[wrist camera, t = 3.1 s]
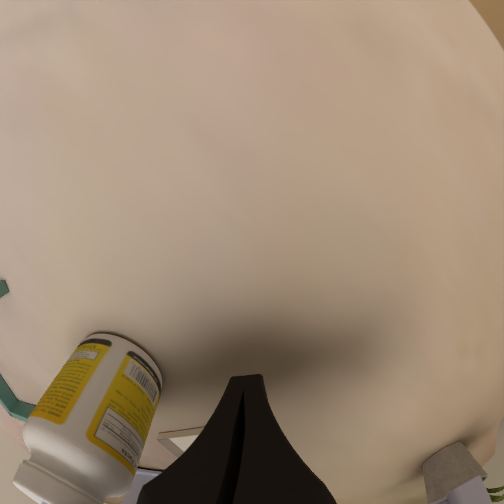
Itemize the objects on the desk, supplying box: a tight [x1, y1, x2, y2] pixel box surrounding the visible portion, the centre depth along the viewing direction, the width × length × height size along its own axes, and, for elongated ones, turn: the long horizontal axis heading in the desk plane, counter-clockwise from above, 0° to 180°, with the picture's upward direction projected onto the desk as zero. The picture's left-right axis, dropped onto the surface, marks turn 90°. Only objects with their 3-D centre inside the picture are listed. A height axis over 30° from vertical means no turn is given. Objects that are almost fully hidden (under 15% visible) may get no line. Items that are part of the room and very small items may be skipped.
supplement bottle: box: [13, 334, 162, 504], centre depth 9 cm, size 5×5×10 cm
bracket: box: [0, 280, 36, 422], centre depth 14 cm, size 13×10×2 cm
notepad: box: [157, 427, 204, 458], centre depth 17 cm, size 9×6×1 cm, turn 24°
